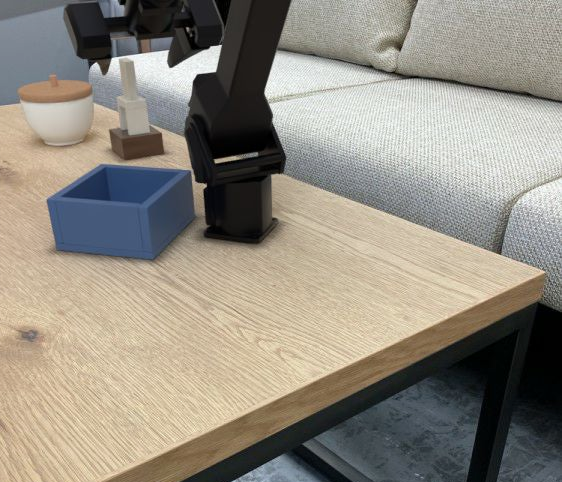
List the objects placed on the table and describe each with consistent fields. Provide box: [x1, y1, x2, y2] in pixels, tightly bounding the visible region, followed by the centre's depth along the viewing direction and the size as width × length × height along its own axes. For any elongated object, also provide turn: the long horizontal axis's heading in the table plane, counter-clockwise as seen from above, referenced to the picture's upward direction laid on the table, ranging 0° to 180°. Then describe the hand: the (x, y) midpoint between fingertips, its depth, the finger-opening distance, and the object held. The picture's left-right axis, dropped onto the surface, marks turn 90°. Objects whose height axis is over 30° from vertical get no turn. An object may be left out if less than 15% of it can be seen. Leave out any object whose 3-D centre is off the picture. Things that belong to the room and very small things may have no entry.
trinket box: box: [17, 74, 95, 147], centre depth 106 cm, size 11×11×9 cm
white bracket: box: [115, 57, 150, 136], centre depth 98 cm, size 4×3×10 cm
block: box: [108, 124, 165, 161], centre depth 102 cm, size 6×6×3 cm
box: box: [46, 163, 196, 261], centre depth 75 cm, size 11×12×6 cm
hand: (136, 68), depth 93 cm, fingers open, 9 cm apart
